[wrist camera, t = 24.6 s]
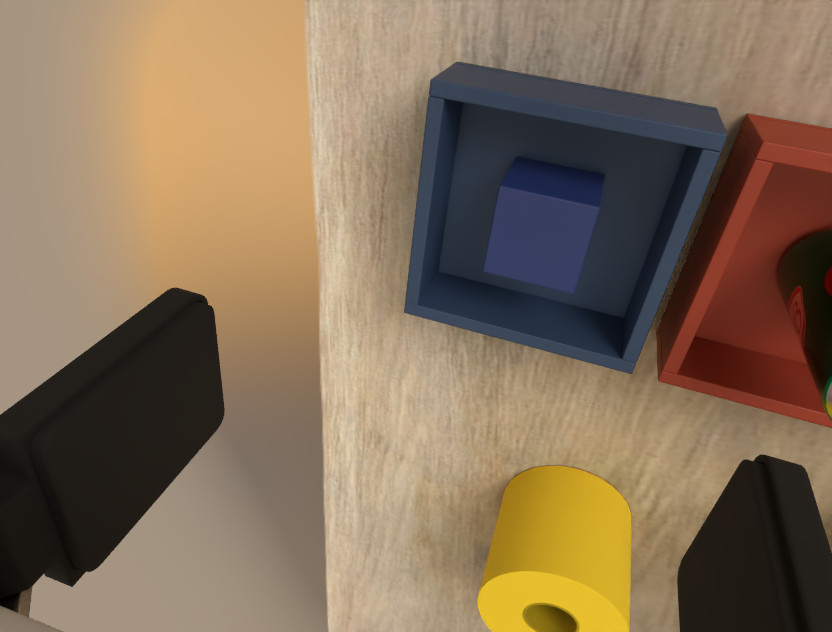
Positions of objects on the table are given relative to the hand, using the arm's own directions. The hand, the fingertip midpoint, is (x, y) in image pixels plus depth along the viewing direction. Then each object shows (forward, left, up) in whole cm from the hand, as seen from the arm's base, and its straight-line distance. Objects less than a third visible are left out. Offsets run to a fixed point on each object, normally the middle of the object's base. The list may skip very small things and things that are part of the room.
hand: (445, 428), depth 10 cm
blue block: (+6, 0, -26) cm, 26 cm away
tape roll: (+31, +7, -26) cm, 41 cm away
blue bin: (+6, 0, -26) cm, 27 cm away
